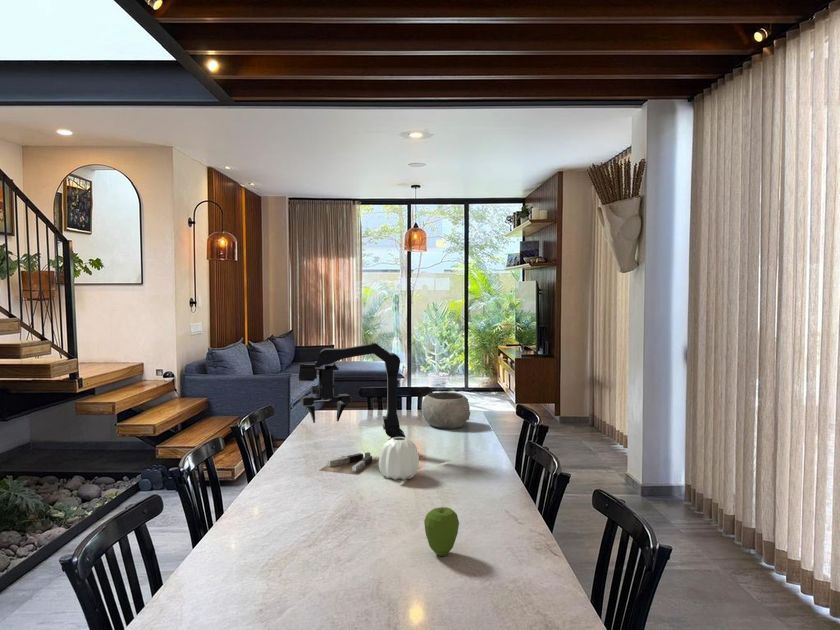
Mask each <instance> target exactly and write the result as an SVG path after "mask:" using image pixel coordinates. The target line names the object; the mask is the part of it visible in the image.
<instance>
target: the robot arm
mask: <svg viewBox="0 0 840 630" xmlns="http://www.w3.org/2000/svg"><path fill="white" fill-rule="evenodd" d="M366 355H375V356H376V357H378V358H379V359H380V360H381V361H383V362H384V366H385V370H386V371H385V372H386V377H387V379H386V380H387V382H386V383H387V384H386V385H387V387H386V388H387V389H386V391H387V397H386V398H387V403H386V405H387V406H386V408H387V409H386V416H384V415H383V416H382V420H383V424H382V429H383V430H384V431H385V434H386V436H388V437H389V438H388V439H387V441H388V440H390V439H391V438H394V437H404V438H407V437H406V435H405V432H404V431H403V429H402V428H401V425H400V420H399V415H398V374H399V371H400V366H401V359H400V356H399V355H398V354H396V353H394V352H389V351H387V350H386V349H385V348H383V347H382V346H380V345H379V343H376V342H371V343H368V344H362V345H356V346H351V347H345V348H335V347H333V348H332V347H330V348H329V347H326V348H325V347H324V348H323V349H321V350H320V352H319V354H318V359H317V360H316V361H314V363H300V364H299V372H298V382H313V383H314V382H315V380H318V383H317V384H318V385H317V386H316V385H312V386H310V394H311V395H302V396H301V397H300V399H299V400H300V405H302V406H304V407H306V409H308V411H309V413H310V417H311V420H312V423H313V424H315V423H316V410H315V409H316V408H315V407H316V406H315V405H314V404H317V403H330V402H332V403H333V402H336V405H337V408H336V421H337V422H339V421H340V419H341V416H342V415H343V411H344V410H345V408H346V406H349V404H351V403H352V396H351V395H350V394H348V393H338V395H337V396H335V393H334V392H335V390H334V389H335V371H339V369H340V367H339V366H337V365H336V363H337V362H338V361H341V360H344V359H349V358H354V357H361V356H366ZM331 364H332V365H331ZM323 366H324V367H323ZM314 395H315V397H313V396H314Z"/></svg>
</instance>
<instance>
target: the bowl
mask: <svg viewBox="0 0 840 630" xmlns="http://www.w3.org/2000/svg"><path fill="white" fill-rule="evenodd" d="M469 403H470V402H469V399H468V398H467V397H466V395H464V394H463V393H460V392H453V391H449V392H448V391H441V392H430V393H428V394H427V395H425V396H424V398H423V401H422V404H421V415H422V416H423V419H424V420H425V422H426V423H427V424H428V425H430V426H433V427H435V428H438V429H448V430H449V429H450V430H454V429H459V428H461V427H463V426H464V425H465V423H466V422H467V420H468V421H469V420H470V417H471V410H470V404H469Z"/></svg>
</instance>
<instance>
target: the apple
mask: <svg viewBox="0 0 840 630" xmlns="http://www.w3.org/2000/svg"><path fill="white" fill-rule="evenodd" d="M423 524H424V532H425V536H426V538H427V539H426V540H427V543H428V545H429V548H430V550H431V551H433V552H434V554H436V556H439V557H444V556H445V557H446V556H447V555H448V554H449V553H450V551H451V550H452V549H453V548H454V545H455V542H456V539H457V537H458V534H459V533H458V532H459V527H460V521H459V517H458V514H457V512H456V511H454V510H453V509H452V508H450V507H447V506H441V507H434V508H433V509H431V510H429V511H428V512H427V514H426V515H425V518H424V520H423Z"/></svg>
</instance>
